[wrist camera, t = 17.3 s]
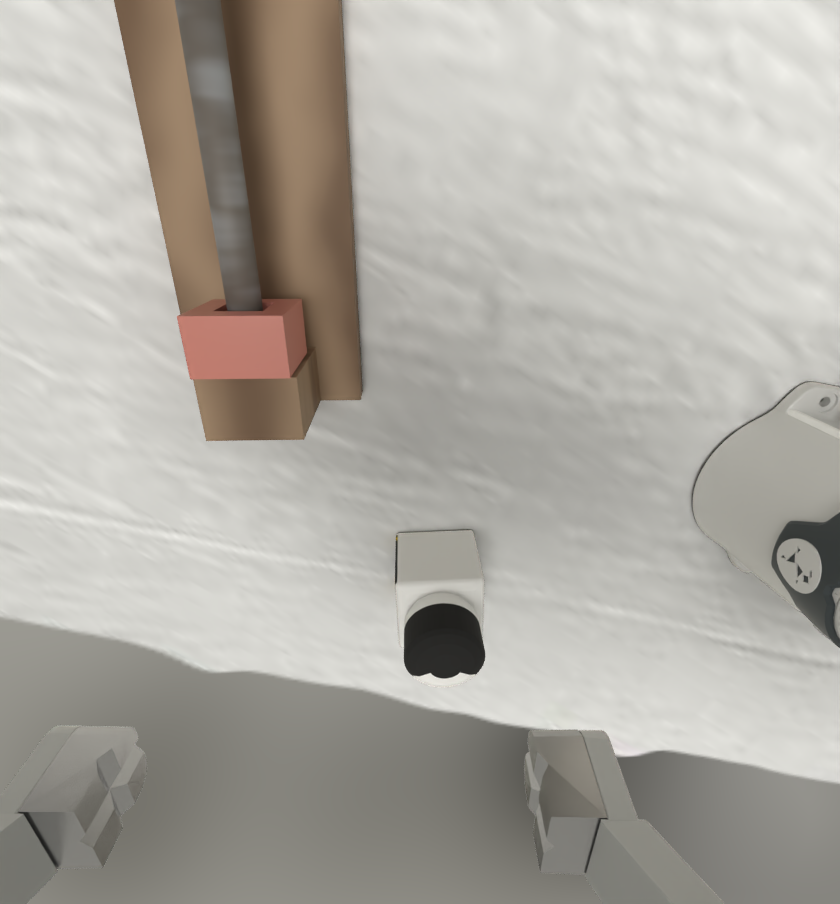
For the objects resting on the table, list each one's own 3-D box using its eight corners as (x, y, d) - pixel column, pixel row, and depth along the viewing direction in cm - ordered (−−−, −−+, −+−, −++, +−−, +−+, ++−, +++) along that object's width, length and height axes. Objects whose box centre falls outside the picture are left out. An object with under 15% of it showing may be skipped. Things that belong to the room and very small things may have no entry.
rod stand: (332, -162, 25) (300, -336, 17) (362, 391, 39) (352, 438, 30) (96, -167, 25) (-51, -348, 17) (208, 392, 38) (156, 441, 30)
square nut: (301, 298, 31) (282, 315, 26) (307, 352, 33) (290, 378, 28) (212, 299, 31) (176, 316, 26) (222, 353, 33) (190, 379, 28)
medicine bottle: (395, 531, 45) (393, 633, 34) (473, 528, 45) (496, 628, 34) (399, 591, 48) (398, 702, 37) (472, 588, 48) (492, 697, 37)
